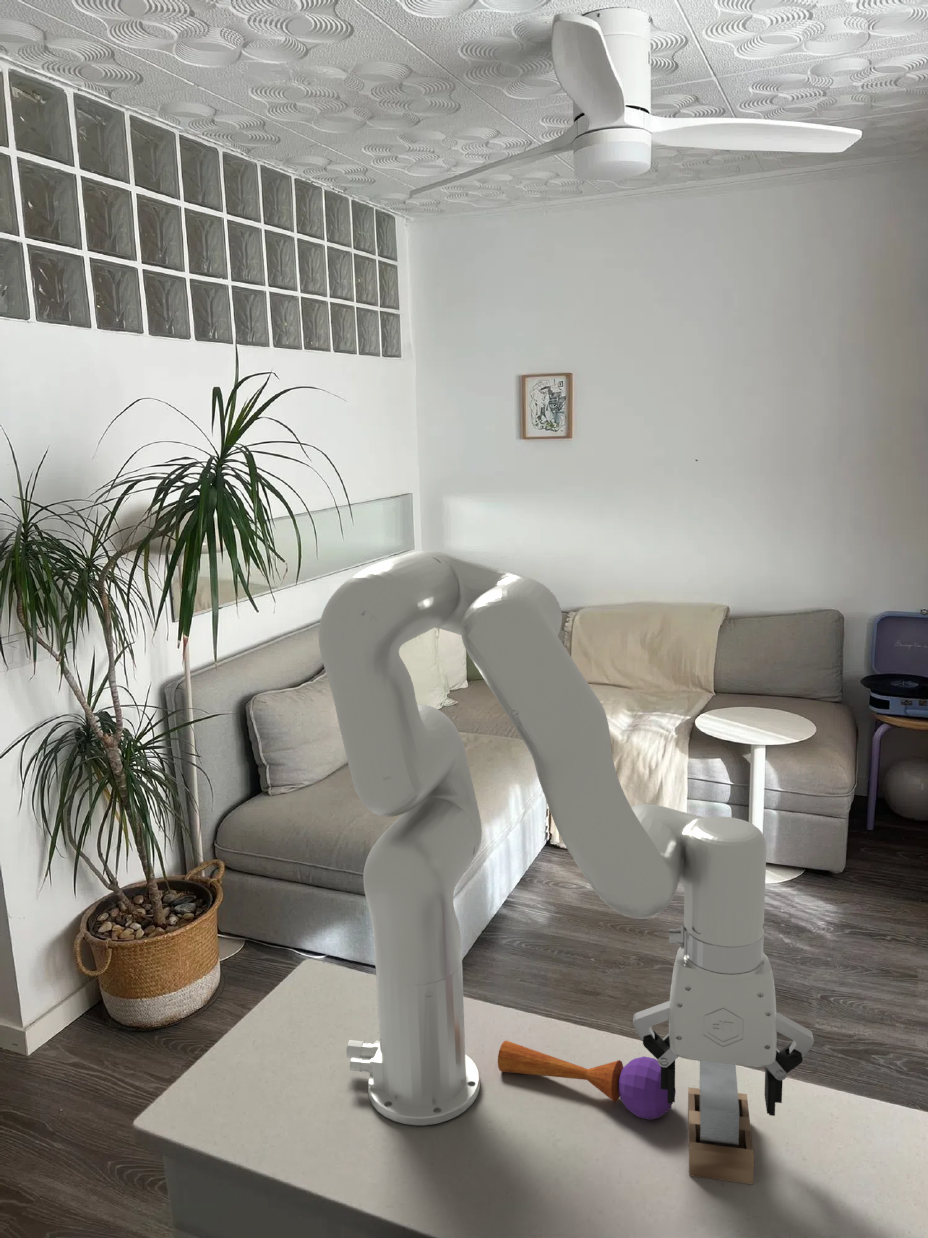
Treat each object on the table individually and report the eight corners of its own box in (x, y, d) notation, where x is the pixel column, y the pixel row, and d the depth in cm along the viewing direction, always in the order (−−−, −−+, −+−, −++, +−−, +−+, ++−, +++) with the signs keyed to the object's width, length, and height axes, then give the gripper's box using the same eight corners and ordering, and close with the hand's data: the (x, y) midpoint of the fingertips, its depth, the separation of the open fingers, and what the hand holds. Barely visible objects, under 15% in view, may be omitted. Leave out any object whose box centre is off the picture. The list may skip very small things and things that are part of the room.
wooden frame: (689, 1175, 92) (689, 1149, 91) (687, 1112, 100) (688, 1087, 100) (753, 1184, 90) (753, 1157, 90) (746, 1119, 99) (746, 1094, 98)
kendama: (514, 1020, 111) (681, 1054, 102) (515, 1071, 111) (681, 1109, 101) (492, 1040, 106) (665, 1077, 96) (492, 1093, 106) (666, 1135, 96)
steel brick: (699, 1171, 92) (700, 1108, 91) (698, 1119, 99) (699, 1060, 98) (737, 1176, 91) (739, 1113, 90) (734, 1124, 98) (735, 1064, 97)
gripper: (631, 957, 89) (631, 1115, 93) (822, 974, 86) (815, 1138, 89) (634, 919, 97) (634, 1066, 100) (811, 932, 93) (805, 1086, 96)
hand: (719, 1100), depth 94 cm, fingers open, 9 cm apart
